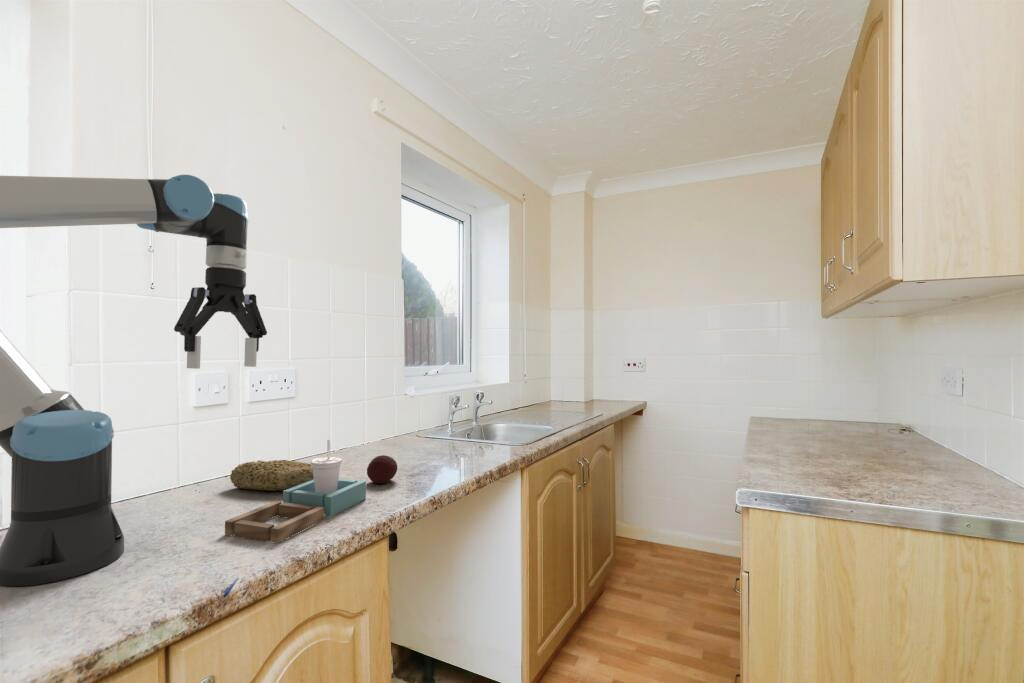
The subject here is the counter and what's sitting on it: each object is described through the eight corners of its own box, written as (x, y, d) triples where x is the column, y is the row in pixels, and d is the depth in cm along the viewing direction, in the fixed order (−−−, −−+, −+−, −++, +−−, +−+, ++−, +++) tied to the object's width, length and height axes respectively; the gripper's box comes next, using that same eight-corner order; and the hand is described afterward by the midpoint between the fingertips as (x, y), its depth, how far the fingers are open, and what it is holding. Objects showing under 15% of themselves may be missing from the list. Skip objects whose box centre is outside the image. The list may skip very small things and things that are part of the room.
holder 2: (330, 516, 98) (330, 496, 98) (282, 510, 102) (283, 491, 102) (365, 498, 109) (365, 481, 109) (321, 493, 113) (321, 476, 113)
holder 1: (277, 543, 85) (277, 529, 85) (224, 534, 88) (225, 521, 88) (324, 520, 96) (324, 507, 96) (275, 513, 100) (275, 501, 100)
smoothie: (347, 503, 106) (348, 439, 107) (322, 511, 101) (323, 444, 101) (328, 498, 110) (329, 436, 110) (303, 505, 104) (304, 440, 105)
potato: (401, 478, 127) (401, 451, 127) (391, 487, 118) (391, 459, 119) (374, 477, 127) (374, 450, 128) (362, 486, 119) (362, 458, 119)
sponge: (224, 497, 114) (287, 489, 107) (225, 463, 116) (287, 453, 109) (271, 492, 126) (330, 485, 118) (271, 461, 128) (330, 452, 120)
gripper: (182, 257, 91) (179, 369, 91) (284, 276, 115) (282, 366, 114) (154, 259, 94) (151, 368, 93) (260, 277, 117) (258, 365, 117)
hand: (223, 367), depth 104 cm, fingers open, 13 cm apart
